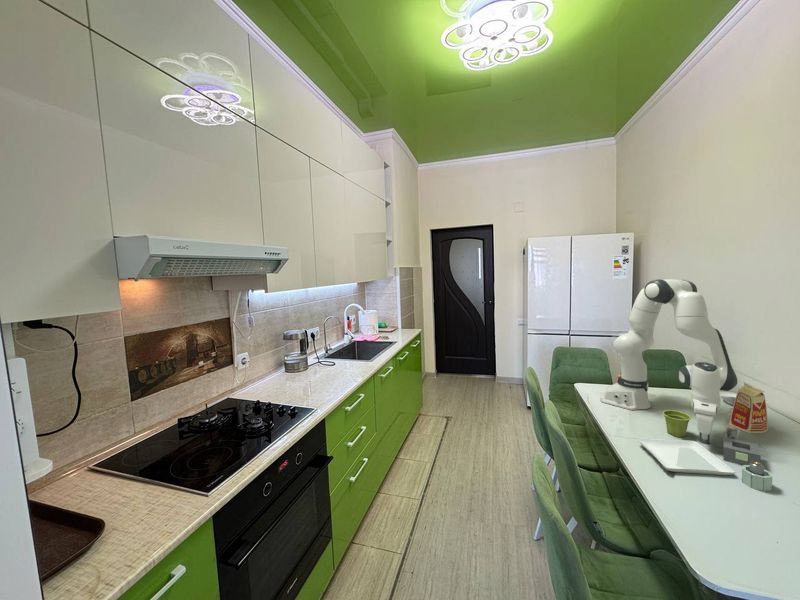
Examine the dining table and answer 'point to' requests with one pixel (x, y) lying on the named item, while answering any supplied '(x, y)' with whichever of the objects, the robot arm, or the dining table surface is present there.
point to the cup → (757, 479)
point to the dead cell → (757, 468)
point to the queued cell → (732, 433)
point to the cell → (704, 441)
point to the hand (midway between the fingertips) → (704, 434)
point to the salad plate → (669, 455)
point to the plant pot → (676, 422)
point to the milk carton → (749, 410)
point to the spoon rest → (729, 398)
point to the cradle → (740, 451)
